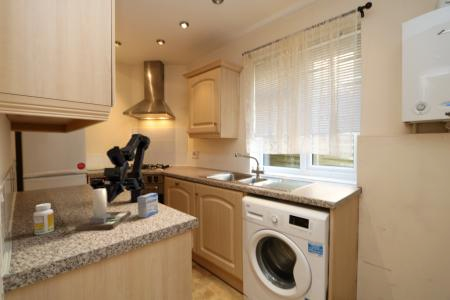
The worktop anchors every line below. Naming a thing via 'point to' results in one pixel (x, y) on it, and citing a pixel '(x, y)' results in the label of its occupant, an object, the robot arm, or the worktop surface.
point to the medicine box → (147, 205)
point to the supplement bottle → (43, 219)
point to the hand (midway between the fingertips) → (108, 202)
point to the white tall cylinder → (100, 207)
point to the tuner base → (107, 225)
